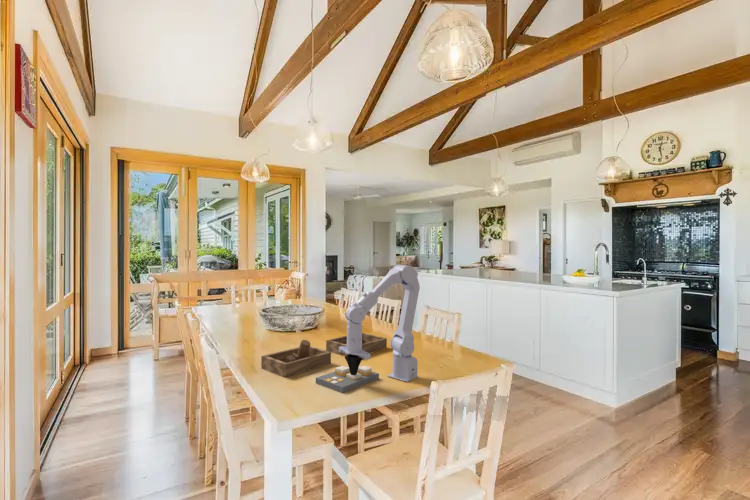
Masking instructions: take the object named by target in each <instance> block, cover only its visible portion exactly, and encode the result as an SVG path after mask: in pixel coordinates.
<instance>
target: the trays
mask: <svg viewBox="0 0 750 500" xmlns="http://www.w3.org/2000/svg"><path fill="white" fill-rule="evenodd" d="M377 337H378V338H379V339H378V338H377ZM387 340H388V339H387V337H383V336H378V335H374V334H369V333H365V332H362V350H364V351H365V352H367V353H370V354H372V353H375V352H378V351H379V352H380V351H382V349H383V350H385V349H384V348H386V349H387V345H388V344H387V343H388V341H387ZM363 341H364V342H365V343H364V342H363ZM325 342H326V343H325V344H326V346H325V349H322V348H318V347H314V346H311V345H310V348H309V351H308V354H307V357H306V358H302V359H299V360H295V361H291V362H288V363H285V359H286V357H287V356H290V355H292V353H296V354H297V353H298V350H299V347H300V346H297V347H294V348H289V349H285V350H281V351H277V352H273V353H269V354H265V355H264V354H263V355H261V362H260V363H261V369H262V370H265V371H267V372H271V373H273V374H276V375H278V376H280V377H284V378H287V377H291V376H295V375H298V374H300V373H304V372H308V371H310V370H311V371H312V370H314V369H316V368H321V367H324V366H327V365H331V364H332V353H333V354H336V355H340V356H343V357H345V356H347V354H345V353H343V352H339V347H341V346H344V347H347V344H346V342H347V335H343V336H338V337H335V338H331V339H327V340H326V341H325Z"/></svg>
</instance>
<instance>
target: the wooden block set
mask: <svg viewBox="0 0 750 500" xmlns="http://www.w3.org/2000/svg"><path fill="white" fill-rule="evenodd" d="M299 344H300V345H299V346H298V347H299V350H298V353H297V354H296V353H292V355H290V356H287V357H286V359H285V363H288V362H291V361H295V360H299V359H302V358H306V357H307V354H308V351H309V348H310V346H311V342H310V341H309V340H307V339H302V340H301V341H300V343H299Z"/></svg>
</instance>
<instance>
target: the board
mask: <svg viewBox="0 0 750 500" xmlns="http://www.w3.org/2000/svg"><path fill="white" fill-rule="evenodd" d="M379 375H380V374H379V373H378V372H376V371H372V374H370V375H367V376H362V375H361V378H359V379H357V380H351V379H348V378H346V376H343V377H342V376H339V375H336V374H335V371H332V372H329V373H326V374H322V375H319V376H317V377H315V384H317V385H319V386H322V387H325V388H328V389H331V390H334V391H335V392H338V393H341V394H343V393H346V392H348V391H351V390H353V389H355V388H359V387H361V386H364V385H366V384H368V383H372V382H373V381H376V380H379V378H380V376H379Z"/></svg>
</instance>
